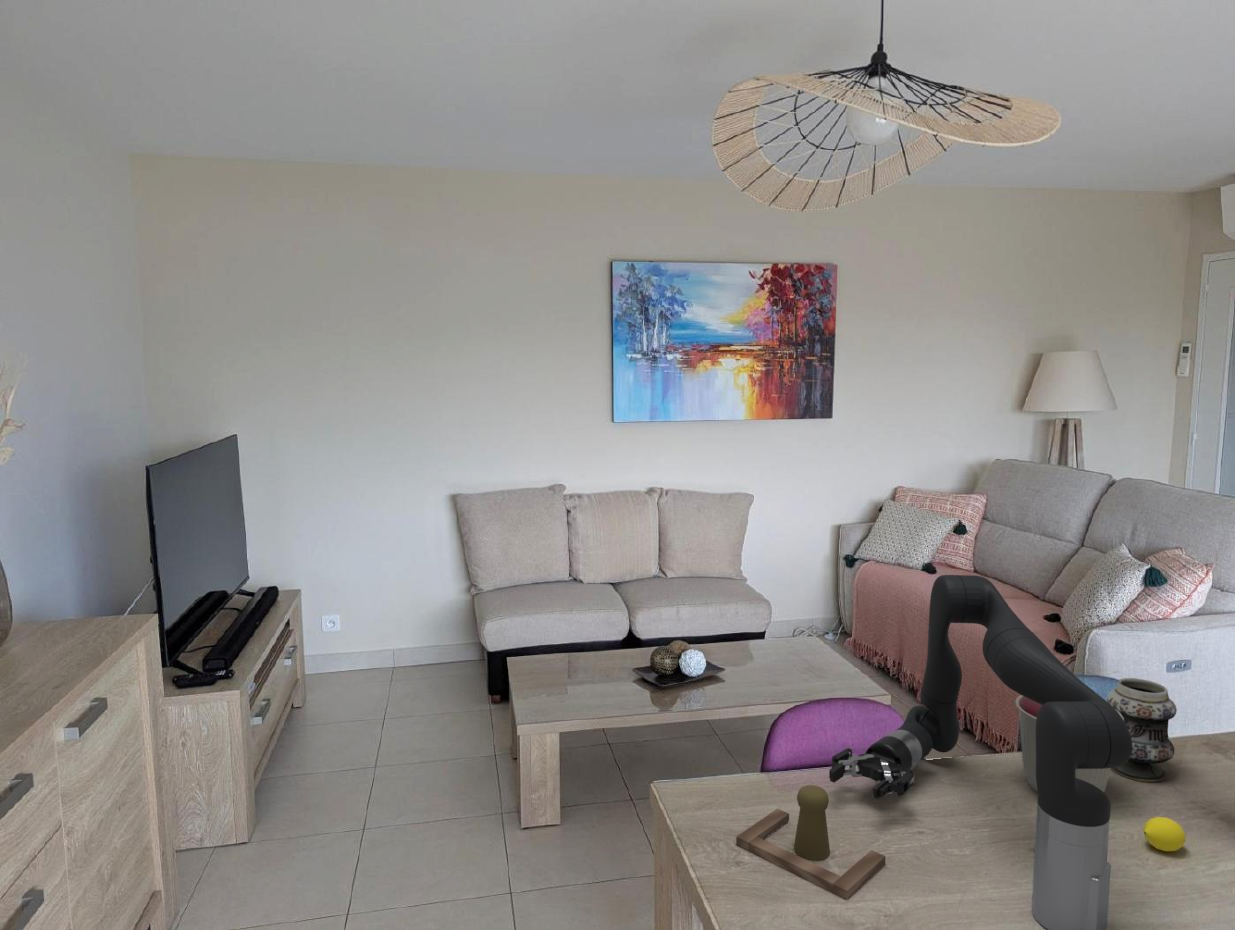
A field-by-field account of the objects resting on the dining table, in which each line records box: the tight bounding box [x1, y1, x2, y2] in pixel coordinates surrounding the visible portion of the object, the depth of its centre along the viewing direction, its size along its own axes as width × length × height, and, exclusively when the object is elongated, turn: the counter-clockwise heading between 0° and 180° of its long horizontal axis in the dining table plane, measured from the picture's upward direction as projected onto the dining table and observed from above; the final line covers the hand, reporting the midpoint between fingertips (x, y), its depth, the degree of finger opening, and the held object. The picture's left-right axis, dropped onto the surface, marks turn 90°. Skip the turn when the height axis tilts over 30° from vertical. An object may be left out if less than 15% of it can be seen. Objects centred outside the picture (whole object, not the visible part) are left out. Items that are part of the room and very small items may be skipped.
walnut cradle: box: [735, 808, 886, 900], centre depth 136 cm, size 21×12×2 cm, turn 45°
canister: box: [1015, 694, 1124, 793], centre depth 155 cm, size 18×18×21 cm
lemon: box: [1143, 816, 1186, 853], centre depth 137 cm, size 7×5×5 cm
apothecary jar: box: [1106, 677, 1178, 783], centre depth 163 cm, size 12×12×18 cm
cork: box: [793, 784, 831, 862], centre depth 137 cm, size 6×6×11 cm
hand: (852, 785), depth 146 cm, fingers open, 8 cm apart
